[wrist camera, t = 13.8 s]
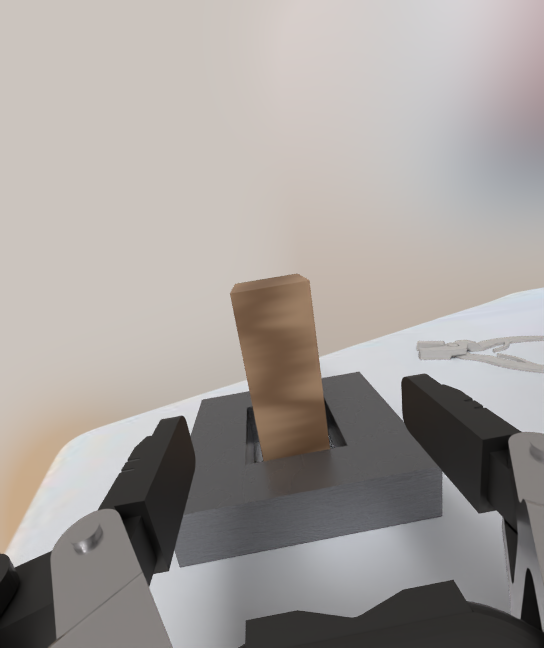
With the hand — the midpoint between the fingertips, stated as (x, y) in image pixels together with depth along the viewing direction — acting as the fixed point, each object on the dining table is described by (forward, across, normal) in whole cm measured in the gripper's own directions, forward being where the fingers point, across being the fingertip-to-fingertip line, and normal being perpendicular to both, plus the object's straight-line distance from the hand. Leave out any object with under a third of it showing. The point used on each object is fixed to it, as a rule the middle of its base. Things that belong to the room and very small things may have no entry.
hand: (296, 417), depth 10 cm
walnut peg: (+9, 0, +10) cm, 13 cm away
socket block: (+9, 0, +10) cm, 13 cm away
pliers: (+20, -25, +10) cm, 34 cm away
